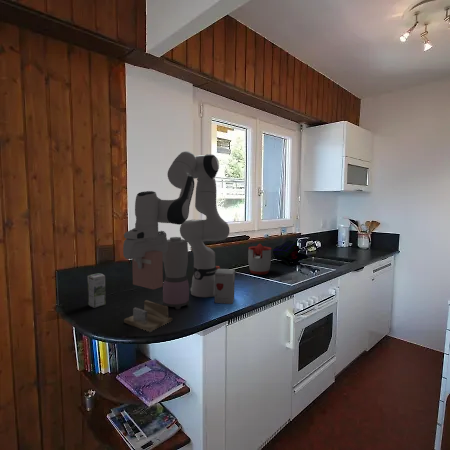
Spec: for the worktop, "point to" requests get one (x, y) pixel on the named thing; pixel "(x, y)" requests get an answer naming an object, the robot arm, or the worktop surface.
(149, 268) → the boxed book
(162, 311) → the beige panel with ridge
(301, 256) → the dark blue bag
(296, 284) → the worktop surface
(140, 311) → the grey thin rectangular slab
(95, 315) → the worktop surface
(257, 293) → the worktop surface
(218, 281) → the supplement box
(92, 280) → the syrup box
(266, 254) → the citrus juicer
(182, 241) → the blender
